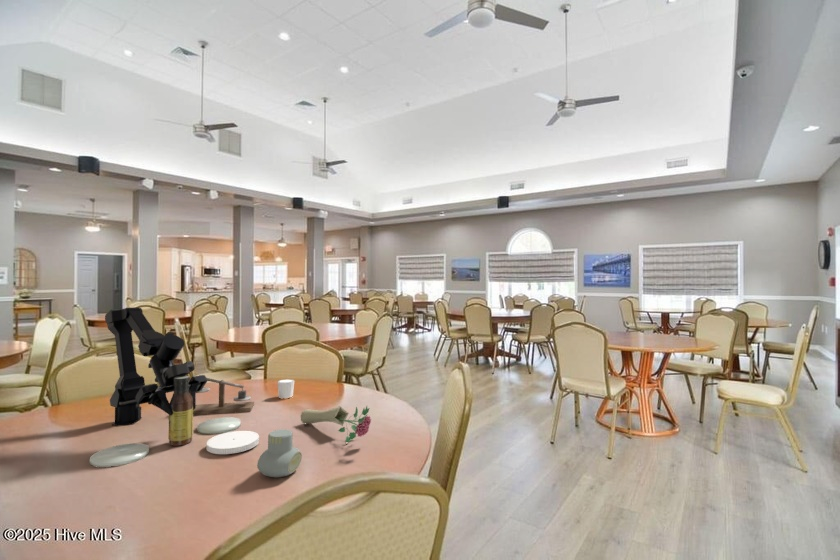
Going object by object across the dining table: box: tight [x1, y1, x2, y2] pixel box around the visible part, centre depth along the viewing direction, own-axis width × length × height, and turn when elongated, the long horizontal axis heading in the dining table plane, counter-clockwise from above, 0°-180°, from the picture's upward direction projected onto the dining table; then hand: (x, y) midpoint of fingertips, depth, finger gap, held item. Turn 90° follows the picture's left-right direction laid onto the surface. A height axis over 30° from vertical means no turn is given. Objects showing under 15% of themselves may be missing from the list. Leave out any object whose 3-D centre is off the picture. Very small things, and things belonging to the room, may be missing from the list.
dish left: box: [89, 442, 150, 468], centre depth 111 cm, size 13×13×1 cm
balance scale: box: [193, 377, 255, 416], centre depth 153 cm, size 22×8×13 cm, turn 103°
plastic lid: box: [206, 430, 260, 455], centre depth 119 cm, size 14×14×2 cm
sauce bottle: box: [168, 375, 194, 446], centre depth 121 cm, size 7×6×20 cm
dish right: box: [196, 416, 242, 435], centre depth 135 cm, size 13×13×1 cm
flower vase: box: [300, 405, 372, 443], centre depth 128 cm, size 12×12×35 cm
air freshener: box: [256, 428, 303, 478], centre depth 103 cm, size 11×8×10 cm
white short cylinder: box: [277, 378, 295, 399], centre depth 172 cm, size 7×7×7 cm
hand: (183, 411), depth 120 cm, fingers closed on sauce bottle, 6 cm apart
